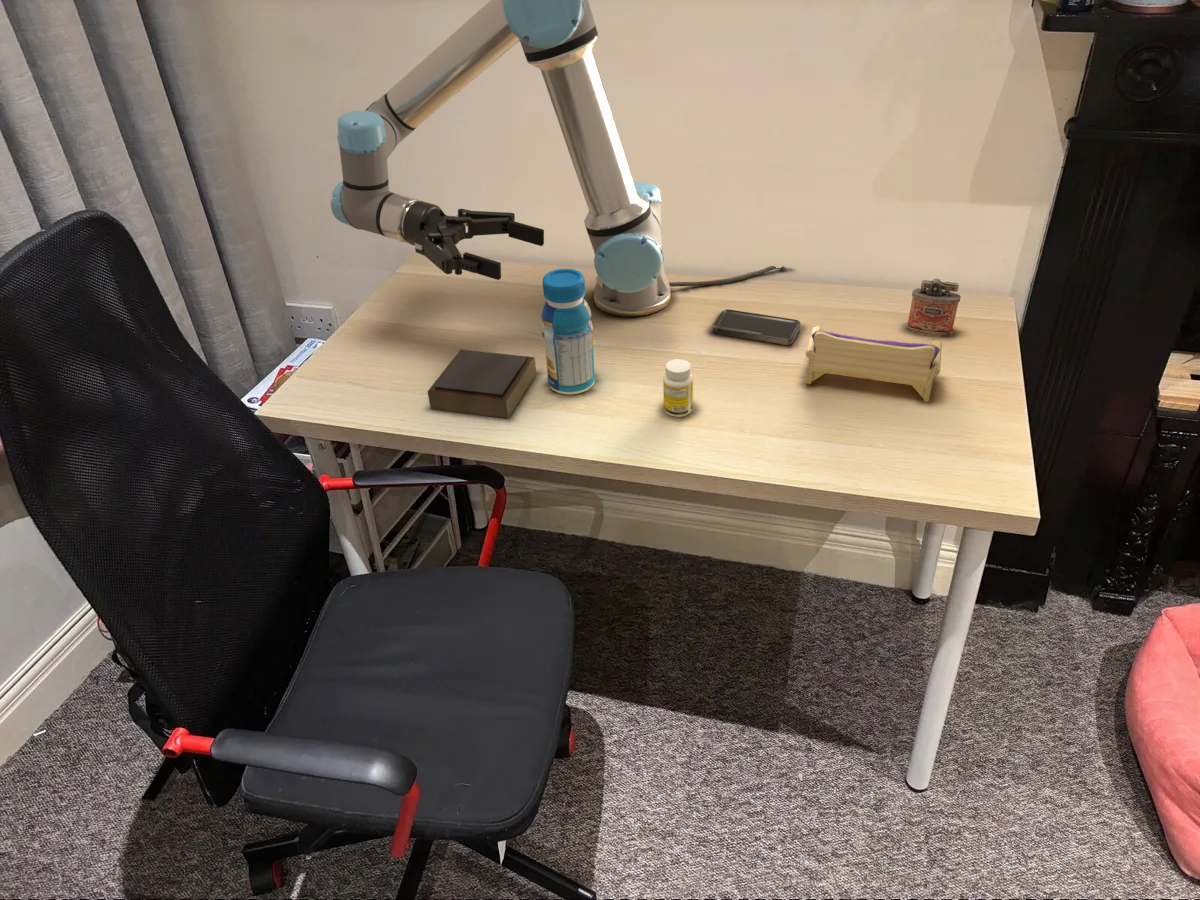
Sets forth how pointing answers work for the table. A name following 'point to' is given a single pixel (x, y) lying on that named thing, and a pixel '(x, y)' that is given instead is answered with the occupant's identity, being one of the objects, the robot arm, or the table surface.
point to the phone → (756, 327)
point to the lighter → (933, 308)
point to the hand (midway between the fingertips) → (522, 254)
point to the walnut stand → (482, 383)
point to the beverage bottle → (567, 332)
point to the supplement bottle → (678, 388)
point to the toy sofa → (874, 360)
